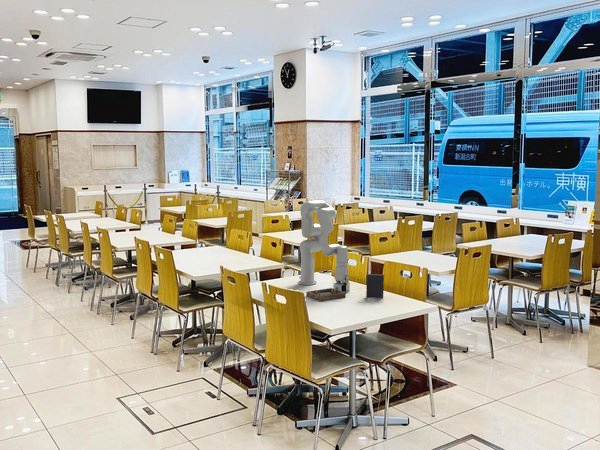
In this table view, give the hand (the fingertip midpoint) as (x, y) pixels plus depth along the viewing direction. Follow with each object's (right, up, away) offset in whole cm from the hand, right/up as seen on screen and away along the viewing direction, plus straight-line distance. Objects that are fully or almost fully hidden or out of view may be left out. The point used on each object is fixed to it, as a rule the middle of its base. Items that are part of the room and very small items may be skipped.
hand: (341, 290), depth 393 cm
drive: (0, -1, 0) cm, 1 cm away
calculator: (+21, -3, -14) cm, 25 cm away
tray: (-11, -3, -14) cm, 18 cm away
